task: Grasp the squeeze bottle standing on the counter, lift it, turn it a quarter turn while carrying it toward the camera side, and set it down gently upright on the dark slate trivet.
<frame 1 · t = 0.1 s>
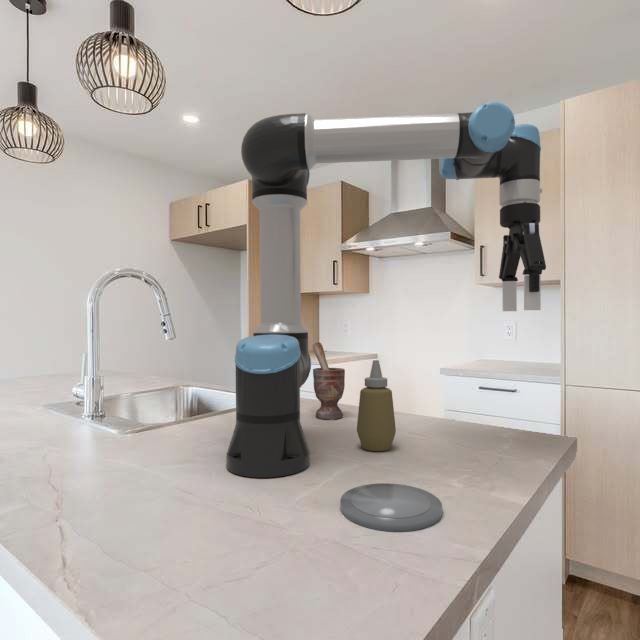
hand: (520, 311, 93), 28 cm above the countertop, fingers open, 13 cm apart
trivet: (390, 508, 64), on the countertop
squeeze bottle: (376, 449, 94), on the countertop
mortar and pestle: (324, 416, 125), on the countertop
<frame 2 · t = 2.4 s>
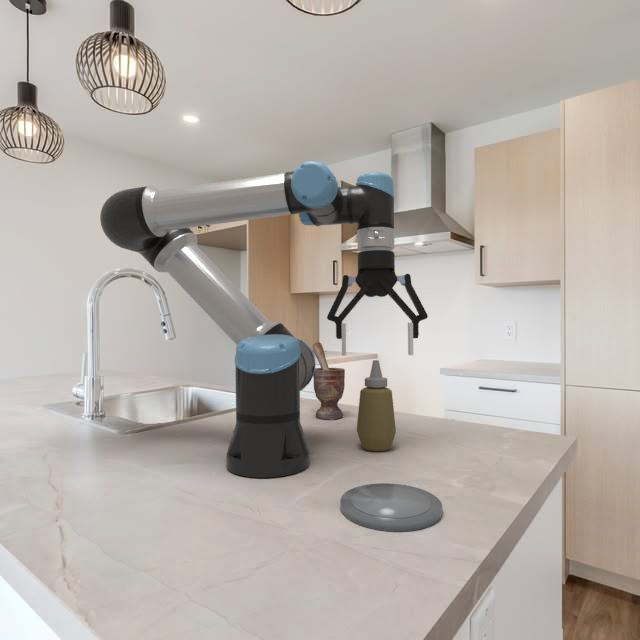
hand: (377, 355, 94), 19 cm above the countertop, fingers open, 13 cm apart
nothing on the countertop moved.
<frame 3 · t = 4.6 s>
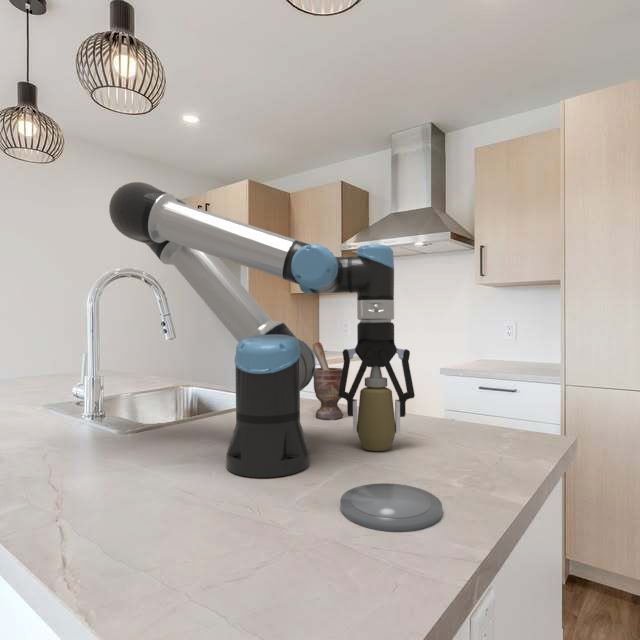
hand: (376, 432, 94), 3 cm above the countertop, fingers closed on squeeze bottle, 8 cm apart
squeeze bottle: (376, 449, 94), on the countertop, touching gripper
everything else where it was.
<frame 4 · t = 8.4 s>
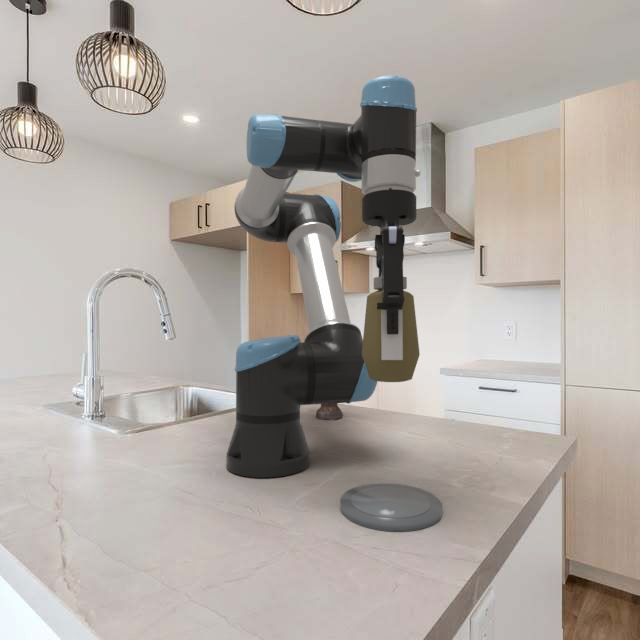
hand: (389, 356, 64), 21 cm above the countertop, fingers closed on squeeze bottle, 8 cm apart
squeeze bottle: (390, 381, 64), point 18 cm above the countertop, touching gripper
everything else where it was.
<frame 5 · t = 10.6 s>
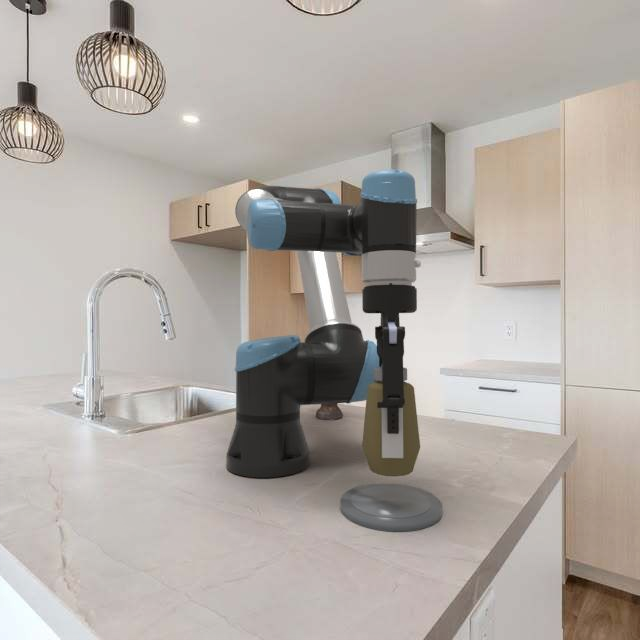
hand: (390, 447, 64), 9 cm above the countertop, fingers closed on squeeze bottle, 8 cm apart
squeeze bottle: (391, 472, 64), point 5 cm above the countertop, touching gripper
everything else where it was.
when the fingers open (5 cm above the countertop, at t = 12.2 s): squeeze bottle stays where it is, resting on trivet.
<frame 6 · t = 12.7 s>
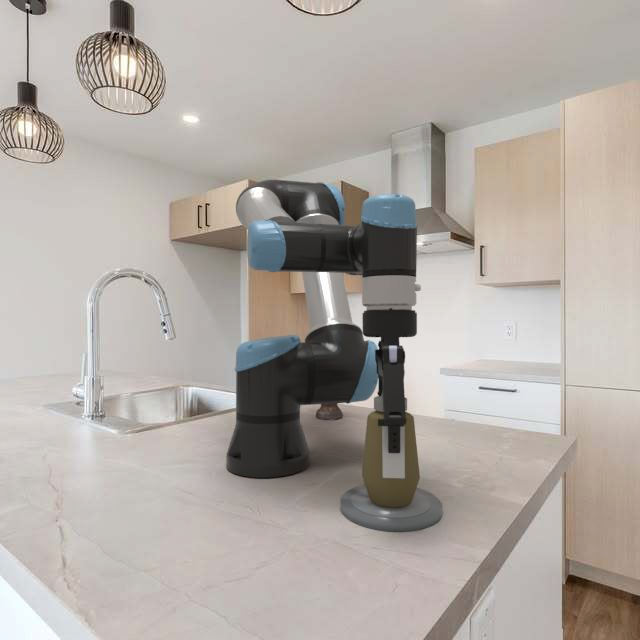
hand: (390, 460, 64), 7 cm above the countertop, fingers open, 13 cm apart
squeeze bottle: (390, 501, 64), point 1 cm above the countertop, touching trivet
everything else where it was.
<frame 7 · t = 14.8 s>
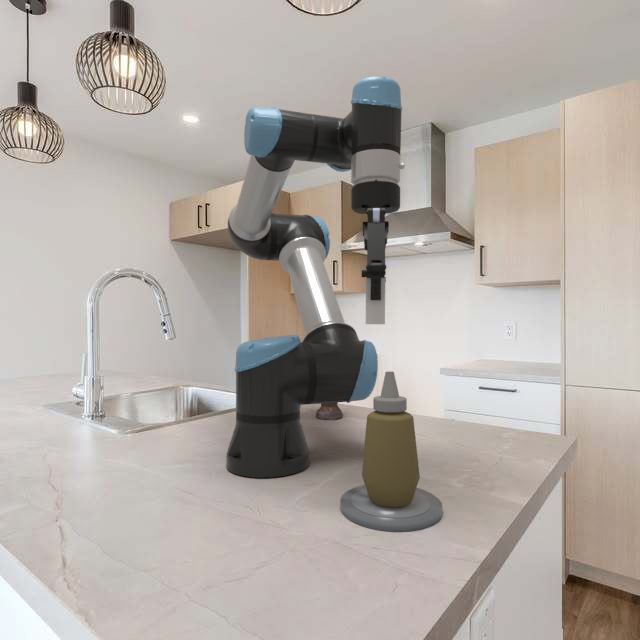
hand: (374, 322, 72), 26 cm above the countertop, fingers open, 13 cm apart
nothing on the countertop moved.
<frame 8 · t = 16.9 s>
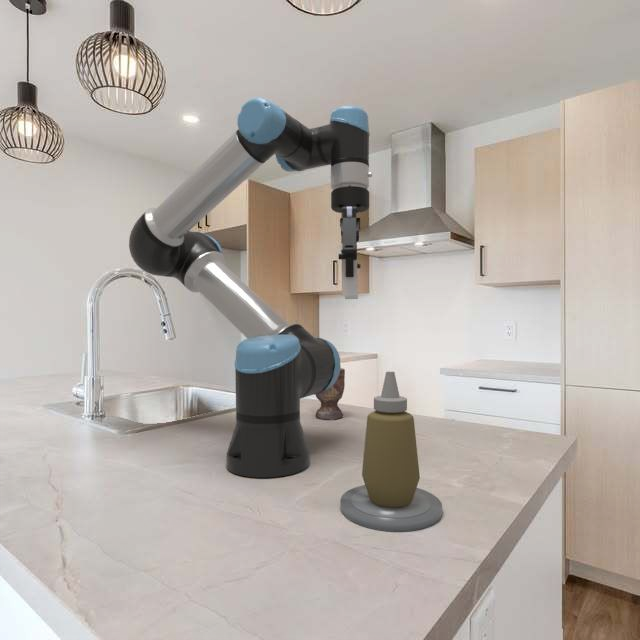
hand: (350, 297, 91), 31 cm above the countertop, fingers open, 13 cm apart
nothing on the countertop moved.
at the end: squeeze bottle 0.1 cm from the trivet (horizontally); squeeze bottle tilted 0°; squeeze bottle point 0.9 cm above the countertop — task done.
